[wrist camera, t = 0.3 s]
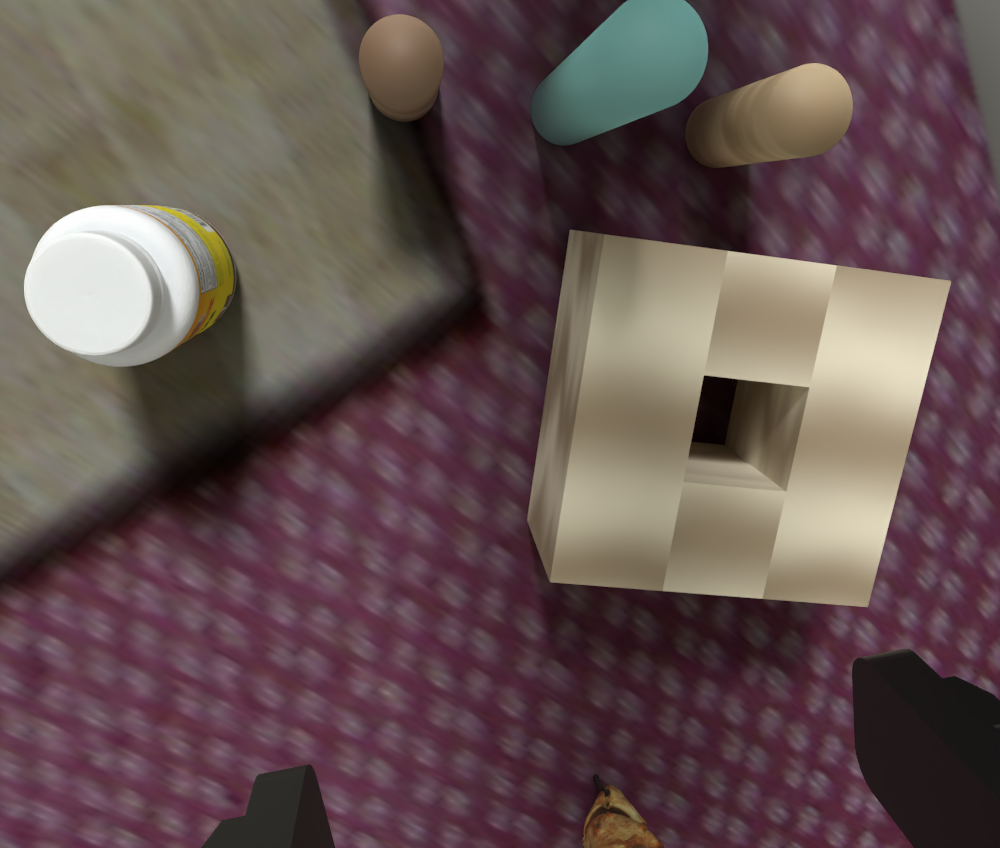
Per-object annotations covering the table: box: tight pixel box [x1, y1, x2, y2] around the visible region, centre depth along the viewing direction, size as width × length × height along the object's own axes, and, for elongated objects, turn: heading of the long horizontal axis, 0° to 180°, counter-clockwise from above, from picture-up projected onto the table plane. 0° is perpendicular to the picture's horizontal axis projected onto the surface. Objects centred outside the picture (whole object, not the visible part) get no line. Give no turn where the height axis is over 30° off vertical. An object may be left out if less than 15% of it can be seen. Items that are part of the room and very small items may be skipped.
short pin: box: [359, 14, 444, 122], centre depth 33 cm, size 3×3×6 cm
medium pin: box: [685, 63, 853, 168], centre depth 33 cm, size 3×3×9 cm
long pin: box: [530, 0, 708, 146], centre depth 30 cm, size 3×3×14 cm
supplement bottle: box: [24, 205, 236, 367], centre depth 31 cm, size 6×6×10 cm
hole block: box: [527, 230, 951, 607], centre depth 37 cm, size 14×14×7 cm
